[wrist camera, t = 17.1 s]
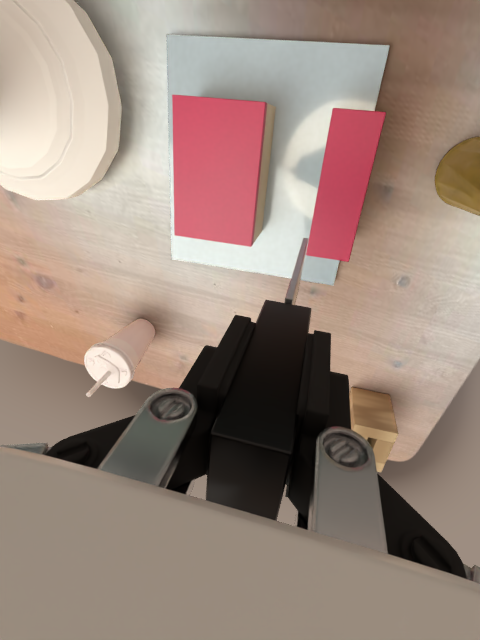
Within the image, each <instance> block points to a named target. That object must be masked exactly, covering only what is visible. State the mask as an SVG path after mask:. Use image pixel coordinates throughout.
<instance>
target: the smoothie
mask: <svg viewBox="0 0 480 640" xmlns="http://www.w3.org/2000/svg"><path fill="white" fill-rule="evenodd" d="M154 336H155V328H154V326H153V325H152V324H151V323H150V322H149V321H147V320H145V319H137V320H135V321H133V322H132V323H130V324H129V325H127V326H126V327H124V328H123V329H121V330H120V331H118V332H117V333H115V334H114V335H112V336H111V337H109V338H108V339H106V340H105V341H103V342H102V343H97V344H94V345H93V346H92V347H91V348H90V349H89V350H88V351H87V352H86V354H85V357H84V363H85V366H86V369H87V371H88V373H89V374H90V375H91V376H92V378H93V379H95V380H96V381H97V383H96V384H95V385H94V386H93V387H92V388H91V389H90V391H88V393H86V395H87V396H88V397H90V396H91V395H92V394H93V393H94V392H95V391H96V390H97V389H98V388H99V387H100V385H101V384H102V385H104V386H106V387H110V388H122V387H124V386H126V385H127V384H128V383H129V382H130V381H131V380H132V378H133V376H134V373H135V372H134V370H135V369H136V367H137V365H138V364H139V362H140V360H141V358H142V357H143V355H144V353H145V352H146V350H147V348H148V347H149V345H150V343H151V342H152V340H153V338H154Z"/></svg>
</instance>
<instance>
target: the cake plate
mask: <svg viewBox="0 0 480 640" xmlns="http://www.w3.org/2000/svg"><path fill="white" fill-rule="evenodd" d="M389 47H390V45H373V44H353V43H333V42H313V41H293V40H273V39H253V38H233V37H213V36H193V35H173V34H167V76H168V123H169V170H170V218H171V259H173V260H179V261H186V262H192V263H198V264H204V265H210V266H216V267H223V268H229V269H235V270H241V271H247V272H253V273H260V274H266V275H272V276H278V277H284V278H290V279H291V278H292V274H293V271H294V268H295V264H296V261H297V258H298V254H299V251H300V248H301V244H302V241H303V238H308V241H309V236H310V230H311V225H312V219H313V214H314V208H315V203H316V197H317V192H318V186H319V181H320V175H321V170H322V164H323V159H324V154H325V148H326V143H327V137H328V132H329V126H330V121H331V115H332V110H333V108H342V109H354V110H366V111H375V107H376V103H377V99H378V94H379V90H380V86H381V81H382V77H383V73H384V69H385V64H386V60H387V56H388V52H389ZM172 95H185V96H198V97H210V98H223V99H235V100H248V101H260V102H266V103H268V104H271V105H273V106H275V107H276V110H275V119H274V128H273V137H272V146H271V155H270V164H269V173H268V182H267V191H266V200H265V209H264V218H263V227H262V232H261V233H260V235H259V236H258V238H257V239H256V241H255V242H254V243H253V245H252V246H251V247H249V246H242V245H235V244H229V243H222V242H215V241H209V240H202V239H195V238H189V237H182V236H175V233H174V170H173V106H172ZM307 246H308V243H307ZM306 252H307V248H306ZM338 265H339V260H333V259H327V258H320V257H313V256H307V255H306V254H305V259H304V264H303V270H302V275H301V280H303V281H309V282H315V283H321V284H327V285H334V282H335V277H336V273H337V269H338Z"/></svg>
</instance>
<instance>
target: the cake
mask: <svg viewBox="0 0 480 640" xmlns="http://www.w3.org/2000/svg"><path fill="white" fill-rule="evenodd" d="M172 106H173V170H174V233H175V236H182V237H189V238H195V239H202V240H209V241H215V242H222V243H229V244H235V245H242V246H249V247H251V246H252V245H253V243H254V242H255V241H256V239H257V238H258V236H259V235H260V233H261V232H262V227H263V218H264V209H265V200H266V191H267V182H268V173H269V164H270V155H271V146H272V137H273V128H274V119H275V110H276V107H275V106H273V105H271V104H268V103H266V102H260V101H248V100H235V99H223V98H210V97H198V96H185V95H172Z"/></svg>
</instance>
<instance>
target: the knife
mask: <svg viewBox="0 0 480 640" xmlns="http://www.w3.org/2000/svg"><path fill="white" fill-rule="evenodd" d="M307 243H308V238H303V241H302V244H301V248H300V251H299V254H298V258H297V261H296V264H295V268H294V271H293V274H292V278H291V281H290V284H289V288H288V291H287V294H286V298H285V303H281V302H275V301H270V300H265V302H264V305H263V307H262V309H261V312H260V314H259V317H258V319H257V321H256V326H255V328H254V331H253V333H252V335H251V338H250V340H249V343H248V345H247V347H246V350H245V352H244V355H243V357H242V360H241V362H240V364H239V367H238V369H237V372H236V374H235V377H234V379H233V381H232V384H231V386H230V389H229V391H228V393H227V396H226V397H225V398H224V400H223V403H222V405H221V408H220V410H219V412H218V415H217V417H216V420H215V422H214V424H213V427H212V429H211V432H210V440H209V457H208V473H207V490H206V500H207V501H210V502H213V503H217V504H220V505H224V506H227V507H231V508H234V509H238V510H241V511H244V512H248V513H251V514H255V515H258V516H262V517H265V518H268V519H272V520H275V521H277V517H278V512H279V508H280V504H281V500H282V496H283V492H284V487H285V483H286V479H287V475H288V471H289V467H290V463H291V458H292V454H293V447H294V439H295V431H296V424H297V414H296V412H297V405H298V398H299V391H300V383H301V376H302V369H303V362H304V355H305V347H306V340H307V334H308V332H309V324H310V317H311V308H308V307H302V306H297V305H295V302H296V298H297V294H298V290H299V285H300V280H301V275H302V270H303V264H304V259H305V254H306V248H307Z"/></svg>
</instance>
